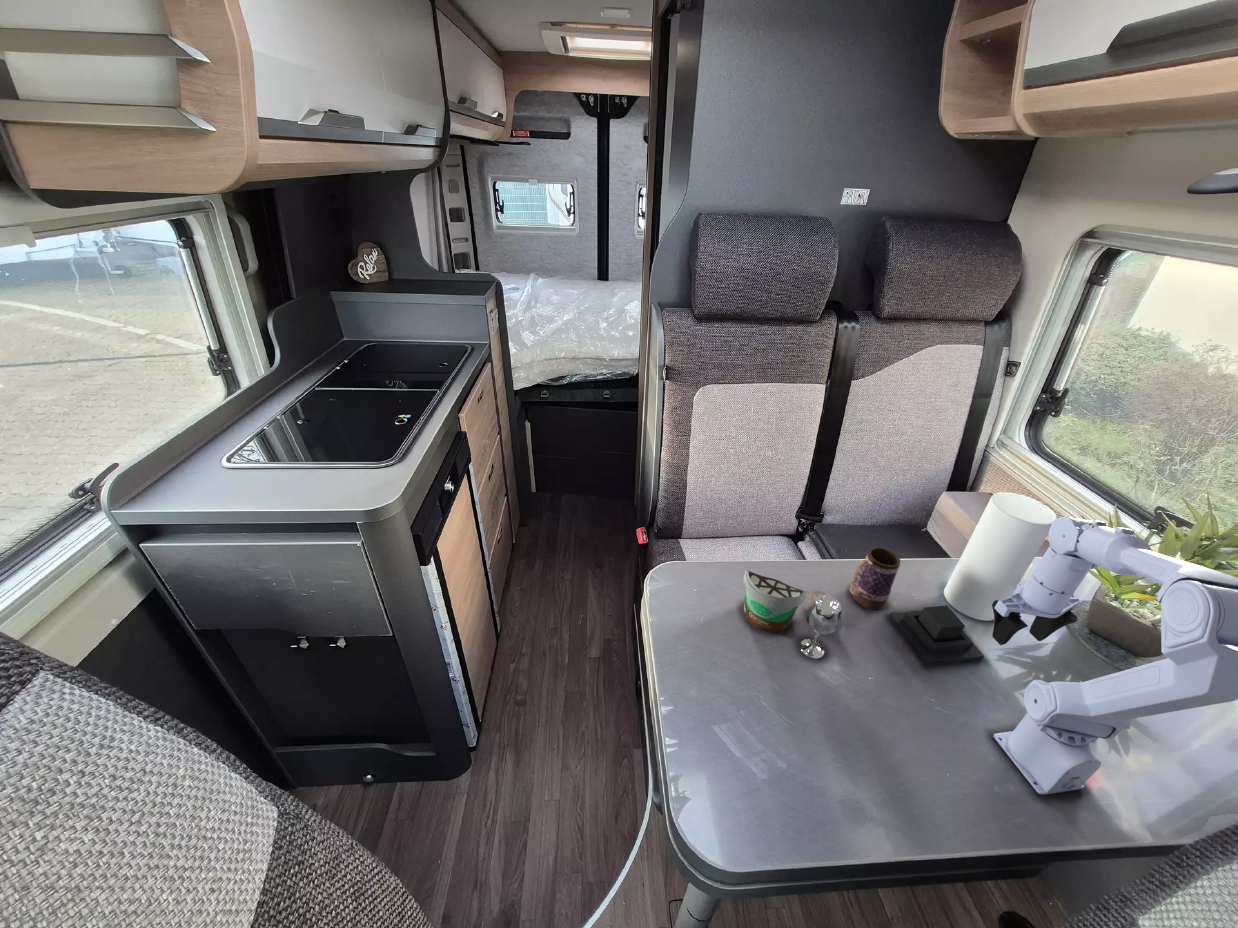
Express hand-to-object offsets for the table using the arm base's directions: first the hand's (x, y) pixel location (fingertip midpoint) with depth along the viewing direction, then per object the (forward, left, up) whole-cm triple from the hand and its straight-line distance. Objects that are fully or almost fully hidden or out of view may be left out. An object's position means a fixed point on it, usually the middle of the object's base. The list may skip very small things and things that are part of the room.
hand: (1016, 638), depth 93 cm
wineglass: (+9, +32, -10) cm, 35 cm away
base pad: (+9, +6, -9) cm, 14 cm away
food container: (+16, +39, -10) cm, 43 cm away
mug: (+20, +15, -10) cm, 27 cm away
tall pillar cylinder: (+17, -9, -10) cm, 21 cm away
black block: (+9, +6, -8) cm, 14 cm away
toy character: (+17, +27, -10) cm, 33 cm away
